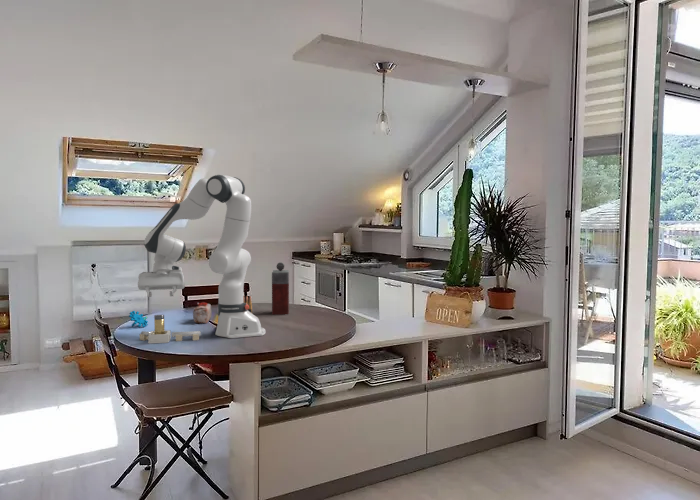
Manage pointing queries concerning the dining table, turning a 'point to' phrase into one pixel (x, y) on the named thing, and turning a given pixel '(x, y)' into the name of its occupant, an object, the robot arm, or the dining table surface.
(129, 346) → the dining table surface
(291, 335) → the dining table surface
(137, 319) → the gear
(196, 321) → the food item
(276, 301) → the red grey bottle
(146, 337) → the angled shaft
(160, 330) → the yellow jar
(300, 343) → the dining table surface
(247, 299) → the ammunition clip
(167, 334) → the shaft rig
